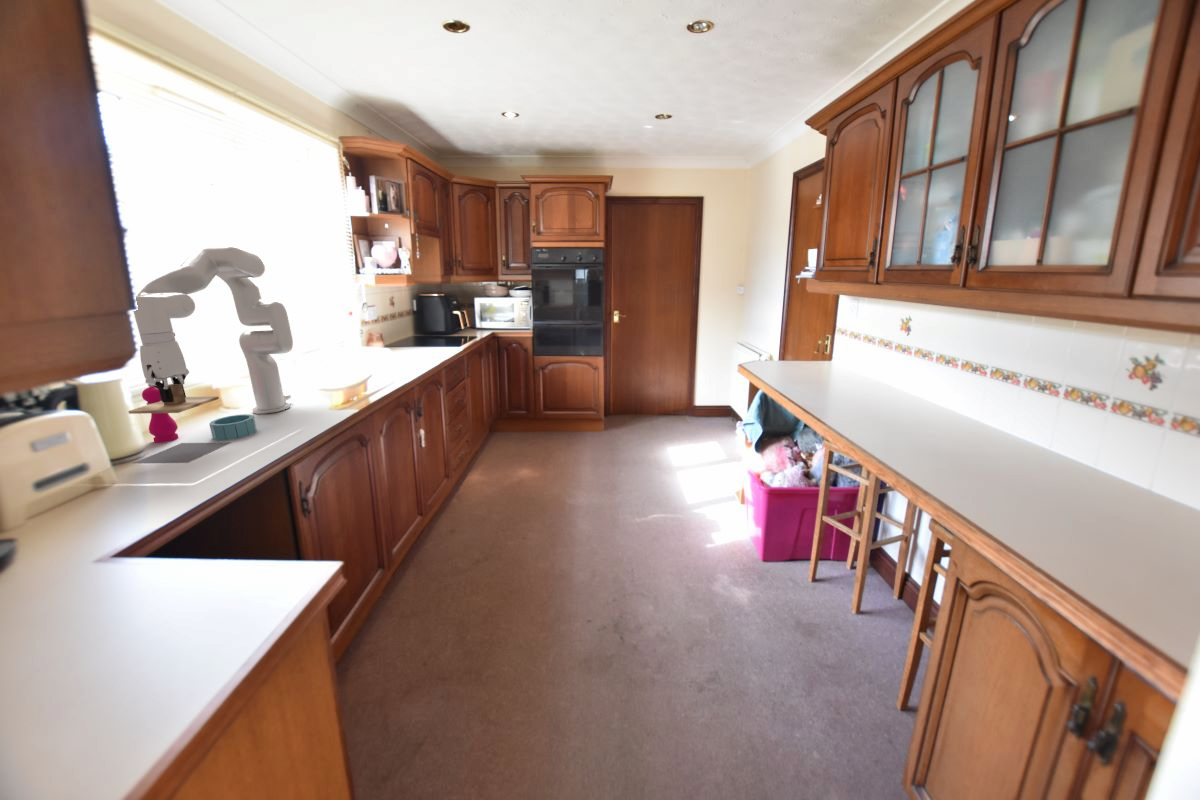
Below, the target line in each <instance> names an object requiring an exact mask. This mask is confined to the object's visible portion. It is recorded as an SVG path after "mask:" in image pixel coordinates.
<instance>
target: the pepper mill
mask: <svg viewBox="0 0 1200 800" xmlns="http://www.w3.org/2000/svg"><path fill="white" fill-rule="evenodd" d="M147 386H148V387H146V388H144V390H143V391H142V393H141V397H142V399H143V400H144V401H146V403H145V405H150V404H153V403H156V402H159V401H162V400H161V396H160V392H159V389H156V387H154V386H153V385H150V384H147ZM150 414H151V416H150V420H149V421H150V422H149V424H148V432H149V433H150V434H151V435H152V436H154V437H153V438H152V440H153V443H154V444H163V443H168V442H172V441H176V440H178V439H179V434H178V433H177V430H178V428H179V427H178V424H177V422H176V421H175V420H174V419H173V417H172V416H170V413H150Z"/></svg>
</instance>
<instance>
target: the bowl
mask: <svg viewBox="0 0 1200 800" xmlns="http://www.w3.org/2000/svg"><path fill="white" fill-rule="evenodd" d="M209 428H210V429H209V430H210V433H211V437H212V439H213V440H215V441H228V440H229V441H230V440H236V439H241V438H244V437H247V436H250V435H253V434H255V433H257V431H258V428H257V423H256V419H255V415H252V414H247V413H246V414H235V415H228V416H223V417H219V418H216V419H214V420H210V422H209Z"/></svg>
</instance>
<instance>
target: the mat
mask: <svg viewBox="0 0 1200 800" xmlns="http://www.w3.org/2000/svg"><path fill="white" fill-rule="evenodd" d="M229 444H232V442H230V441H229V442H225V441H224V442H181V443H179V444H175V445H174V446H171V447H169V448H166V449H163V450H161V451H158V452H156V453H154V454H152V455H149V456H146V457H145V458H142V459H139V460H137V461H134V462H133V464H181V463H182V464H188V463H191V462H192V461H195V460H198V459H199V458H201V457H203V456H206V455H208V454H210V453H212V452H215V451H216V450H218V449H221V448H223V447H226V446H227V445H229Z"/></svg>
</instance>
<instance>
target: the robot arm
mask: <svg viewBox="0 0 1200 800" xmlns="http://www.w3.org/2000/svg"><path fill="white" fill-rule="evenodd" d="M265 271H266V264H265V262H264V260H263V258H262V257H261V256H260V255H259V254H258V253H256V252H253V251H251V250H247V249H245V248H241V247H239V246H235V245H230V244H228V245H227V244H223V245H221V244H219V245H203V246H199V247H197V248H196V249H194V250H193V252H191V254H190V255H189V256H188V257H187V259H185V261H183V263H182V264H181V265H180V267H179V268H178V269H175V270H173V271H171V272H170V271H169V272H168V273H166V274H165V275H162V276H160V277H158V278H156V279H154V280H152V281H150V282H148V283H147V284H146V285H145V286H143V288H142V289H141V290H140V292H139V293H138V294H137V295H136V301H137V305H138V310H136V311H133V310H132V312H133V314H134V319H135V322H136V327H137V329H138V334H139V337H140V341H141V344H142V345H140V346H139V354H140V356H139V357H140V363H141V368H142V372H143V376H144V379H145V384H147V385H148V384H150V385H153V386H154V387H156V389H159V392H160V396H161V400H162V402H173V401H174V400H173V396H172V393H171V389H170V388H169V389H168V385H169V382H168V379H169V378H170V380H171V382H172V383H171V384H181V385H182V388H183V392H184V396H185V398H186V397H187V396H186V391H185V388H184V385H185V379H186V377H187V376H188V374H190V371H189V369H188V368H187V364H186V361H185V358H184V355H183V352H182V350H181V347H180V345H179V343H178V341H176V338H175V336H176V333H175V332H174V330H173V326H172V321H171V319H183V318H187V317H189V316H191V315H192V314H194V312H195V309H196V303H195V301H194V299H193V298H192V297H191V296H189V295H190V294H195V293H197V292H200V291H202V290H205V289H206V288H207V287H208V286H209V285H210V283H211V282H212V280H214V278H215V277H216V276H217V277H218V278H219V279H221V280H222V281H224V282H225V284H227V286H228V287H229V289H230V291H231V294H232V297H233V302H234V306H235V310H236V315H237V317H238V320H239V322H240V323H241V324H242V325H243V326H246V327H264V326H267V327H268V326H270V328H262V329H256V328H255V329H249V330H245V331H243V332H242V333H241V334H240V336H239V339H238V343H239V346H240V349H241V350H242V353H243V355H244V357H245V361H246V364H247V369H248V372H249V377H250V381H251V385H252V386H251V387H252V390H253V391H252V392H253V397H254V401H255V406H256V407H254V408H253V409H252V412H253V413H254V414H257V415H258V414H259V415H260V414H261V415H262V414H263V415H264V414H265V415H267V414H272V413H278V412H282V411H283V412H284V411H286V410H288V409H289V408H291V404H290V403H288V402H286V401H287V400H290V399H291V398H292V397H291V394H290V393H288V394H284V392H283V391H284V390H283V387H282V383H281V377H280V373H279V367H278V364H277V362H276V360H275V359H274V358H273V357H272V355H279V354H281V355H282V354H287V353H289V352H291V351H292V349H293V346H294V343H293V335H292V330H291V326H290V325H291V324H290V322H289V316H288V312H287V309H286V308H285V306H284V304H283V303H282V302H281V301H279V300H277V299H276V300H275V299H262V297H261V293H260V288H259V286H258V284H257V283H256V282H255V280H254V279H255V278H259V277H261V276H263V274H264V273H265ZM253 278H254V279H253ZM285 409H286V410H285Z"/></svg>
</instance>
